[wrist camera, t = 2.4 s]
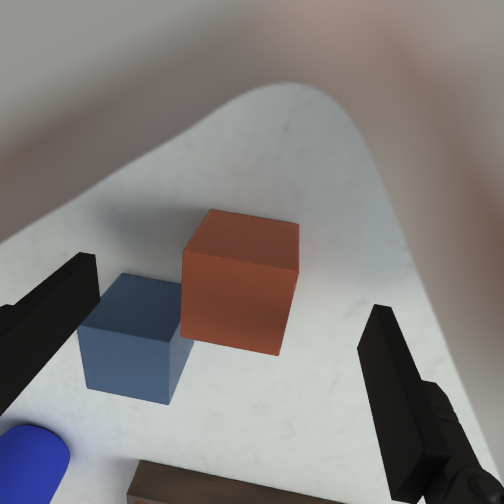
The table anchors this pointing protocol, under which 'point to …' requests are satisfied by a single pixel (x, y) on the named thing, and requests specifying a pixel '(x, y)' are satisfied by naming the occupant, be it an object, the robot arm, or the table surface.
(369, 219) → the table surface
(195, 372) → the table surface
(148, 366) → the blue block
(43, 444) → the mug
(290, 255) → the terracotta block
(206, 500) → the tray
